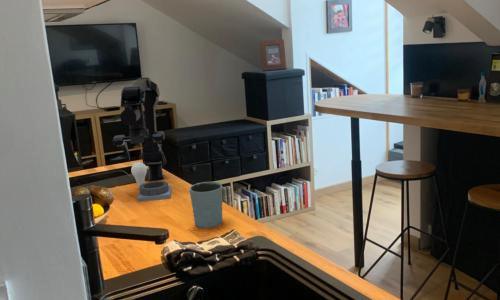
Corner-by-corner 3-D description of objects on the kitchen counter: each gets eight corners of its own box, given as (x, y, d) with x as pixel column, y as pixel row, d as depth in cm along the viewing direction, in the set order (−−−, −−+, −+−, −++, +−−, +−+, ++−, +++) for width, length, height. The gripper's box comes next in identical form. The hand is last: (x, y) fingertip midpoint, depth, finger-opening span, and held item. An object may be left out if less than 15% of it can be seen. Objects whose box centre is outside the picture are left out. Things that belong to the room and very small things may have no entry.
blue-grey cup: (208, 215, 155) (205, 180, 152) (232, 221, 148) (229, 184, 146) (186, 225, 147) (182, 188, 144) (209, 232, 141) (205, 193, 138)
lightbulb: (151, 186, 192) (148, 160, 190) (146, 191, 186) (143, 164, 184) (136, 187, 193) (133, 161, 190) (131, 191, 187) (128, 164, 184)
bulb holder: (140, 192, 186) (139, 182, 185) (171, 188, 187) (170, 179, 186) (137, 201, 174) (136, 191, 173) (170, 198, 175) (169, 187, 174)
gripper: (107, 126, 169) (114, 168, 172) (160, 121, 171) (166, 163, 175) (112, 121, 179) (117, 160, 183) (161, 116, 182) (166, 155, 186)
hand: (141, 160), depth 181 cm, fingers open, 9 cm apart
